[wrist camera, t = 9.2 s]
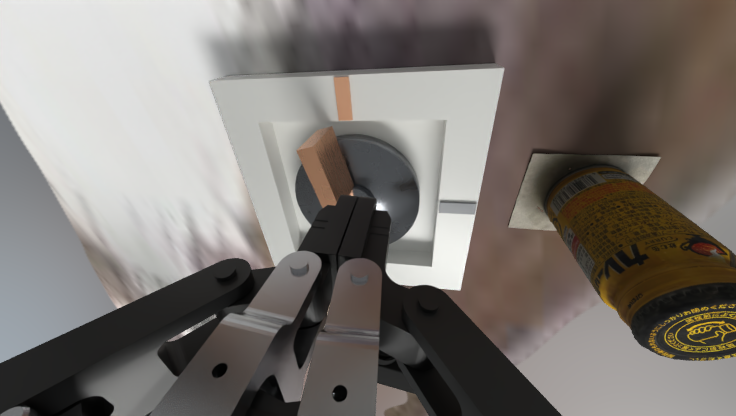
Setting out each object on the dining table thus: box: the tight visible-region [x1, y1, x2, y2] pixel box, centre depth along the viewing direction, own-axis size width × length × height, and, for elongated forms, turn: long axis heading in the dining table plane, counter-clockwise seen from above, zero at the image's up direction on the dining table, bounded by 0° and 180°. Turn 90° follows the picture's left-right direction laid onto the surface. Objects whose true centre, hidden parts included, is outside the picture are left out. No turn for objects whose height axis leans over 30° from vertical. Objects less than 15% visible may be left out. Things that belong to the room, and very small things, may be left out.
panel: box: [209, 63, 504, 290], centre depth 24 cm, size 20×20×3 cm
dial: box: [295, 126, 420, 244], centre depth 22 cm, size 12×11×6 cm
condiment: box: [508, 153, 736, 361], centre depth 17 cm, size 7×8×12 cm
